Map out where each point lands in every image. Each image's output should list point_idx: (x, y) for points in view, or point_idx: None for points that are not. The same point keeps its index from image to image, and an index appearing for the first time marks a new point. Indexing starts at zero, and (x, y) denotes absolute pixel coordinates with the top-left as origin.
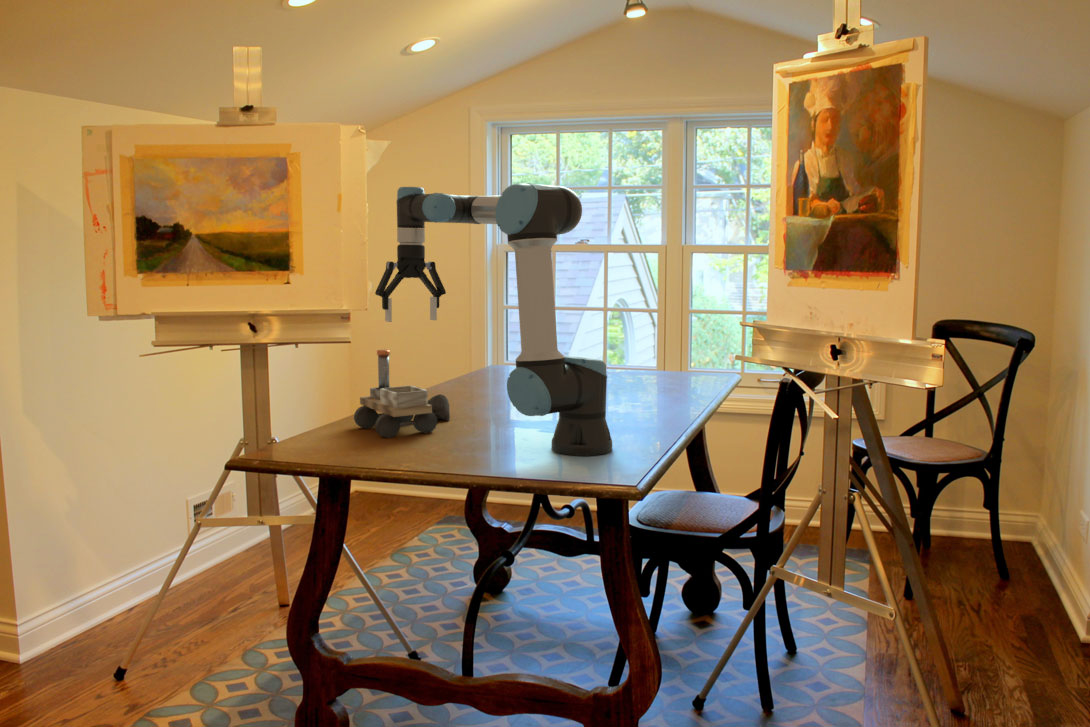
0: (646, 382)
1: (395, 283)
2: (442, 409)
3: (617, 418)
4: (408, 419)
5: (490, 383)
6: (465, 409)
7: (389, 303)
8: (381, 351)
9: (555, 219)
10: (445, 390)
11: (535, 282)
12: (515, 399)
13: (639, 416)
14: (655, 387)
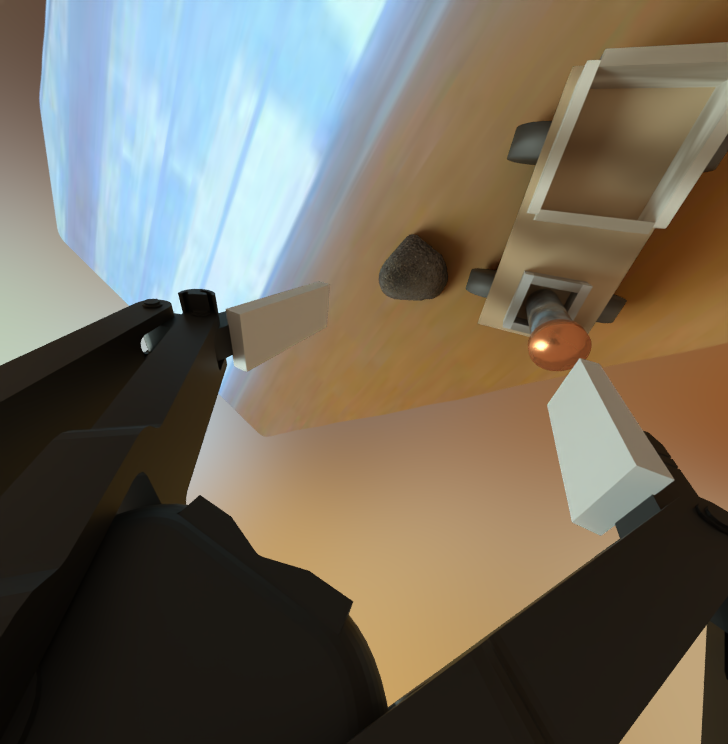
0: (103, 277)
1: (633, 637)
2: (416, 242)
3: (170, 25)
4: (486, 270)
5: (235, 402)
6: (332, 303)
7: (641, 439)
8: (588, 336)
9: None
10: (289, 415)
11: None
12: None
13: (137, 18)
14: (97, 243)
